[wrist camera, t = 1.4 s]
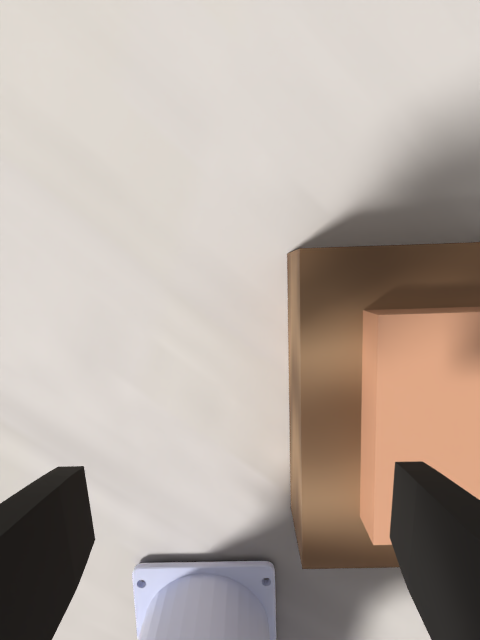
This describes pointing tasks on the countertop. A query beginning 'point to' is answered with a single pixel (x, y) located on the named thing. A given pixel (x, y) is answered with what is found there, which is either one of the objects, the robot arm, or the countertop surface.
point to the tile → (418, 402)
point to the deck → (350, 377)
